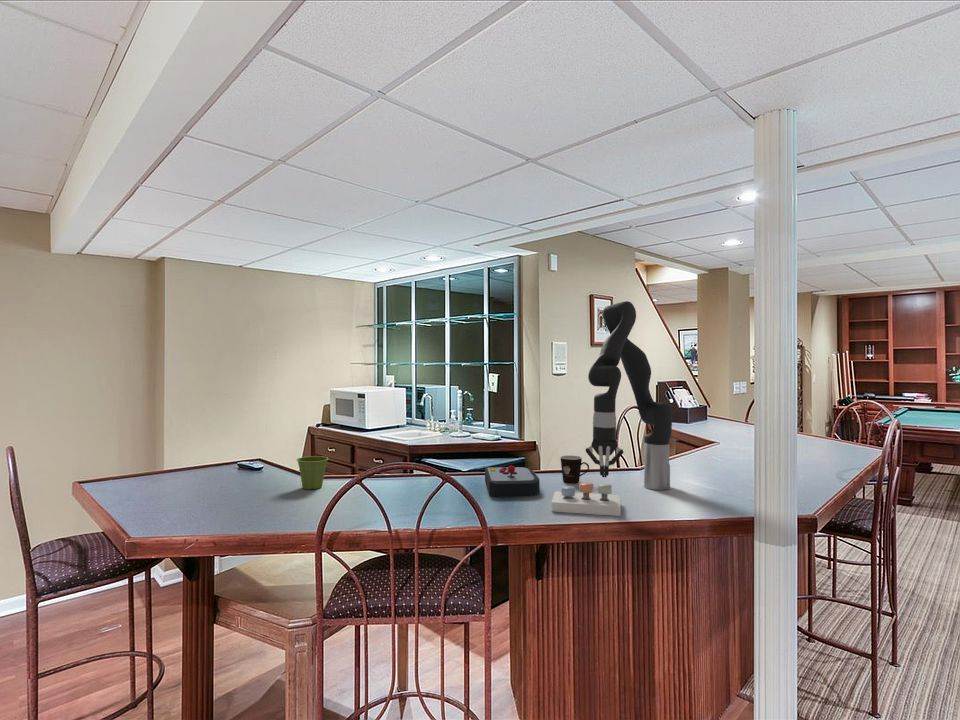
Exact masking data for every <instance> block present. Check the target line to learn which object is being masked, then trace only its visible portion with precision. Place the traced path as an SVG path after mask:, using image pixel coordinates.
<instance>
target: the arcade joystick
mask: <svg viewBox="0 0 960 720" xmlns="http://www.w3.org/2000/svg"><path fill="white" fill-rule="evenodd" d="M484 482H485V485H486V489H487V493H488V495H489V497H491V498H525V497H527V498H530V497H531V498H532V497H535V496H536V497H537V496H538V495H539V494H540V478H539V476H538V475H537V474H536V472H535V471H534V470H533V469H531V468H528V467H522V466H521V467H520V466H517V467H515V466H514V465H509V466H507V467H506V466H503V467H502V466H501V467H500V466H499V467H485V468H484Z"/></svg>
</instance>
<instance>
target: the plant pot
mask: <svg viewBox="0 0 960 720" xmlns="http://www.w3.org/2000/svg"><path fill="white" fill-rule="evenodd" d="M328 461H329V457H328V456H322V455H311V456H309V455H308V456H303V457H302V456H301V457H297V458H296V462H297V463H298V468H299V472H300V473H299V474H300V479H301V488H302V489H304V490H312V489H313V490H318V489H321V488H322V487H323V483H324V478H325V471H326V468H327V467H326V466H327V463H328Z"/></svg>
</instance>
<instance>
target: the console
mask: <svg viewBox="0 0 960 720" xmlns="http://www.w3.org/2000/svg"><path fill="white" fill-rule="evenodd" d="M621 511H622V510H621V500H620V495H618V494H608V501H601V494H600V493H589V500H583V493H582V492H575V496H571V499H565V496H562V495H561V491H554V494H553V497H552V500H551V512H555V513H556V512H558V513H571V514H572V513H573V514H588V515H598V516H599V515H603V516H615V517H616V516H617V517H621V514H622V513H621Z"/></svg>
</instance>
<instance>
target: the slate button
mask: <svg viewBox="0 0 960 720" xmlns="http://www.w3.org/2000/svg"><path fill="white" fill-rule="evenodd" d="M560 492H561V495H562V496H565V499H571V496H575V493H576V487H575V486H571V485H570V486H569V485H562V486H561V491H560Z"/></svg>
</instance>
